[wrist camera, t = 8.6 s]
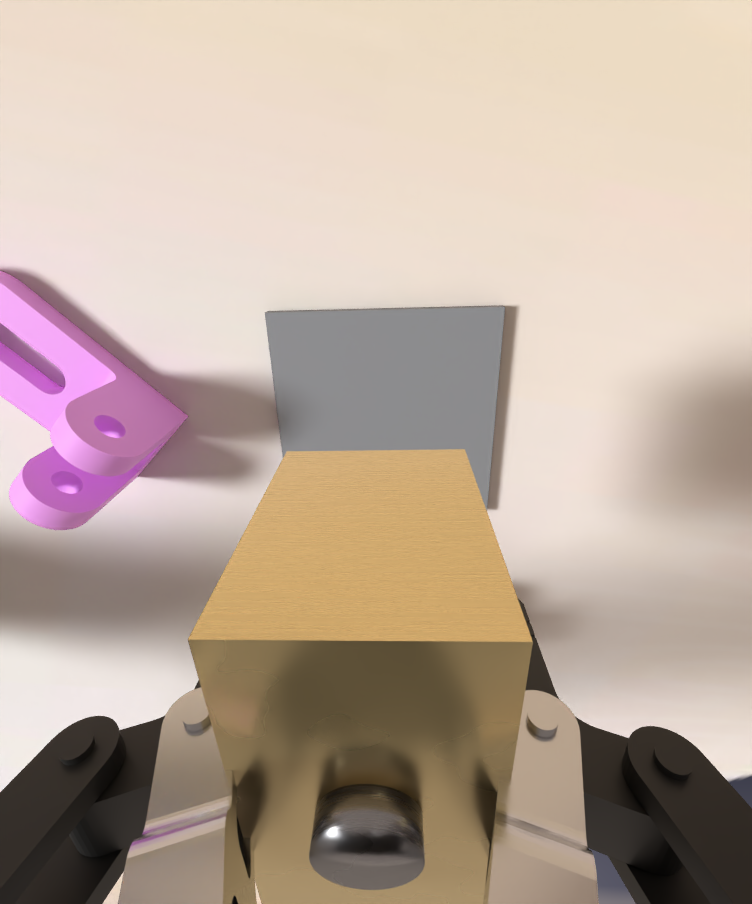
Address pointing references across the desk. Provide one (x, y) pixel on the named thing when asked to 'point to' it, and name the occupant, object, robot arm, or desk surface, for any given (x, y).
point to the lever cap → (366, 678)
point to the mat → (388, 380)
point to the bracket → (76, 414)
